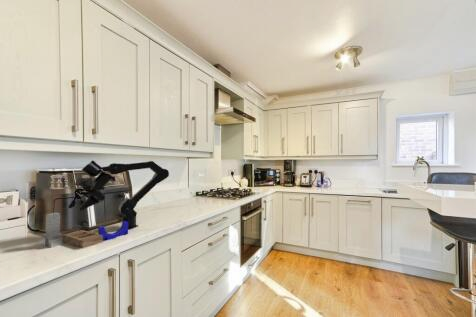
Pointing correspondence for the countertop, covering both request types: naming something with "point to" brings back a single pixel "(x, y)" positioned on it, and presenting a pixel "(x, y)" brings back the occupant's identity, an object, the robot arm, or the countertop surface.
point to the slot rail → (82, 238)
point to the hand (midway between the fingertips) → (74, 209)
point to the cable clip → (108, 236)
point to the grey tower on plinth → (53, 230)
